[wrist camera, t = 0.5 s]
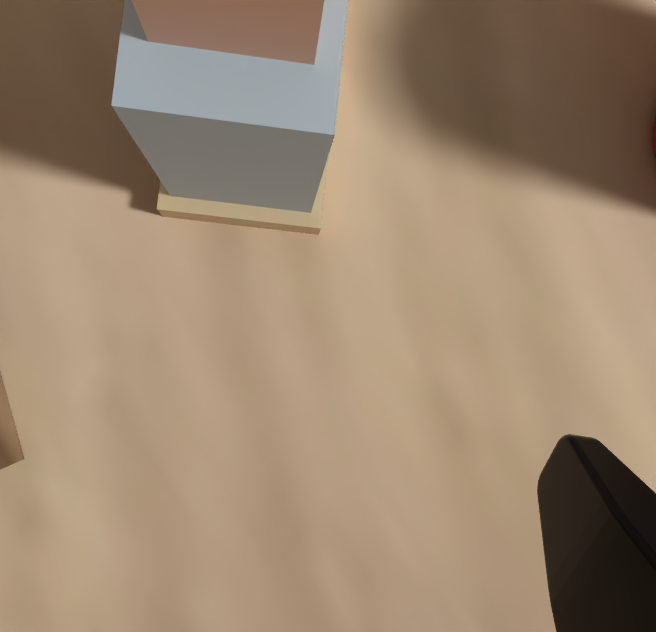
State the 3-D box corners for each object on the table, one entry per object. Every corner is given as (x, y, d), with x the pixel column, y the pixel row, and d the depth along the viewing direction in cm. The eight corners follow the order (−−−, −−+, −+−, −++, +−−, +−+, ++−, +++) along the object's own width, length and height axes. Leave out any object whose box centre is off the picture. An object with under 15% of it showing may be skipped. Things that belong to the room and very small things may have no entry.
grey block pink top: (318, 234, 23) (370, 112, 11) (162, 216, 22) (41, 67, 11) (342, -3, 23) (417, -366, 12) (191, -26, 23) (106, -429, 11)
